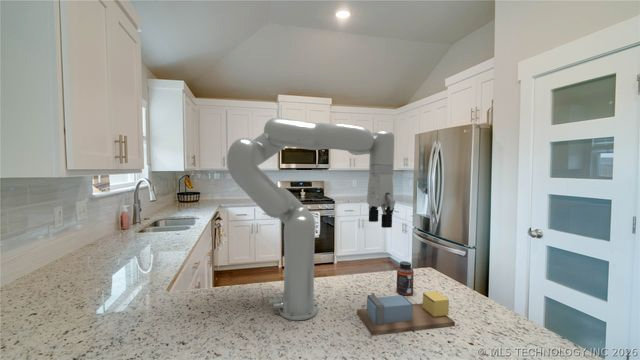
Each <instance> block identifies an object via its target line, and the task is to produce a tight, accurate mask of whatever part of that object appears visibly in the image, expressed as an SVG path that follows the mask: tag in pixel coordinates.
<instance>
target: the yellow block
mask: <svg viewBox="0 0 640 360" xmlns="http://www.w3.org/2000/svg"><path fill="white" fill-rule="evenodd" d="M449 301H450V299H448V298H447V297H446V296H444V295H443V294H441V293H440V292H438V291H427V292H423V293H422V303H423V308H424V309H425V310H426V311H428V312H429V313H430V314H431V315H432V316H434V317H436V316H446V315H447V316H449V307H450V305H449V304H450V302H449Z"/></svg>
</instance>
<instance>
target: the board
mask: <svg viewBox="0 0 640 360" xmlns="http://www.w3.org/2000/svg"><path fill="white" fill-rule="evenodd" d="M412 304H413V318H412V320H411V321H401V322H392V323H384V325H380V326H377V325H376V324H374V323H373V322H372V320H371V319H370V318H369V316H368V315H367V308H360V309H359V308H358V309H356V314H357V315H358V317H359V319H361V322H363V324H364V325H365V327H366V329H367V330H368V331H369V333H370V334H371V336H381V335H388V334H389V335H390V334H396V333H405V332H412V331H413V332H414V331H421V330H429V329H439V328H447V327H454V326H455V325H456V322H455V321H454V320H453V319H452V318H451V317H449V315H446V316H436V317H434V316H432V315H431V314H430V313H429V312H428V311H426V310H425V309H424V308H423V302H422V303H421V302H420V303H412Z"/></svg>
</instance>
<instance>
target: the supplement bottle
mask: <svg viewBox="0 0 640 360" xmlns="http://www.w3.org/2000/svg"><path fill="white" fill-rule="evenodd" d="M414 274H415V273H414V269H413V268H412V263H411V262H409V261H406V260H405V261H403V260H402V261H400V262H399V267H397V269H396V292H397V293H398V294H399V295H403V296H411V295H413V294H414Z"/></svg>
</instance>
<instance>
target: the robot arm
mask: <svg viewBox="0 0 640 360" xmlns="http://www.w3.org/2000/svg"><path fill="white" fill-rule="evenodd" d="M285 147H288V148H289V147H291V148H297V149H303V150H309V151H310V150H311V151H319V150H339V151H347V152H348V153H349V154H351V155H353V156H361V155H369V164H368V165H369V167H368V168H369V169H368V170H369V171H368V175H369V177H368V182H367V183H368V185H367V195H366V196H367V197H366V202H367V204H368V222H370V223H377V222H379V209H378V208H381V212H382V213H381V228H382V229H384V228H385V229H386V228H387V229H389V228H391V229H392V227H393V215H394V210H395V206H396V205H395V204H396V200H395V198H394V182H393V177H394V162H395V161H394V160H395V134H394V133H393V132H392V131H387V130H386V131H385V130H384V131H383V130H381V131H374V132H371V131H370V129H368V128H366V127H361V126H357V125H356V126H355V125H350V124H341V123H323V122H312V121H302V120H298V119H291V118H282V117H273V118H270V119H268V120H267V121H266V123H265V125H264V127H263V133H261V134H260V135H258V136H257V137H255V138H254V139H251V138H247V137H241V138H238V139H235V141H234V142H232V143H231V145H230V146H229V149H228V151H227V155H226V165H227V169H228V173H229V174H230V177H231V179H232V180H233V181H234V182H235V183H236V184H237V186H238V187H240V189H241V190H242V191H243V192H244V193H245V194H246V195H247V196H248V197H249V198H250V199H251V200H252V201H253V202H254V203H255V204H256V205H257V206H258V207H259V208H260V209H261V210H262V212H264V214H265V215H267V216H268V217H270V218H274V219H279V221H281V222H282V223H283V224H284V227H283V228H284V229H283V245H284V246H283V248H284V250H283V251H284V253H283V255H284V256H283V257H284V258H283V261H284V263H283V264H284V269H283V277H284V278H283V293H282V294H281V296H279V297H277V298H268V304H269V305H268V306H272V307H273V309H278V313H279V315H280V317H283V318H284V319H287V320H289V321H290V320H291V321H304V320H309V319H312V318H313V317H314V316H316V315H317V314H318V312H319V305H318V303H317V302H316V301H314V299H315V298H314V295H315V293H314V292H315V291H314V288H315V287H314V285H315V282H314V281H315V237H316V223H315V222H316V221H315V218H314V214H313V213H312V212H311V211H310V210H309V209H308V208H307V207H306V206H305V205H304V204H303V203H302V202H301V201H300V200H299V199H298V198H297V197H296V196H295V195H294V194H293V193H292V192H291V191H289V190H288V189H286V188H284V187H281V186H280V187H279V185H277V184H275V182H274V181H273V180H272V179H270V177H269V176H268V175H267V174H266V173H265V172H264V171H263V170H261V168H259V166H260V165H262V164H263V163H265V162H266V161H267V160H269V159H270V158H272V157H273V156H275V155H276V154H278V153H279V152H280V151H282V150H283V149H285Z"/></svg>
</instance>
